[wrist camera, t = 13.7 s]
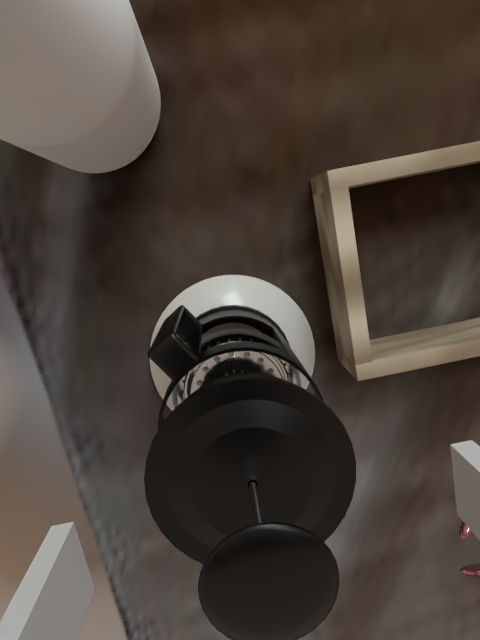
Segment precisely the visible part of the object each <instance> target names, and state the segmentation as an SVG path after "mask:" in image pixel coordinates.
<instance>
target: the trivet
mask: <svg viewBox="0 0 480 640" xmlns="http://www.w3.org/2000/svg"><path fill="white" fill-rule="evenodd" d="M181 305H183V306H185V307H186V308H187V309H188V310H189V311H190V312H191V313H192V315H193V316H194V317H195V318H196V317H197V316H199V315H200V314H202V313H204V312H206V311H208V310H210V309H212V308H216V307H220V306H226V305H240V306H247V307H250V308H253V309H256V310H259V311H260V312H262V313H264V314H266V315H267V316H269V317H270V318H271V319H272V320H273V321H275V322H276V323H277V324H278V326H279V327H280V328H281V330H282V331H283V332H284V334H285V336H286V338H287V340H288V342H289V344H290V348H291V349H292V350H293V352H294V353H295V355H296V356H297V358H298V359H299V361H300V362H301V364H302V365H303V367H304V368H305V370H306V371H307V373H308V374H309V375H310V377H312V374H313V369H314V363H315V346H314V339H313V335H312V331H311V328H310V326H309V323H308V321H307V319H306V317H305V315H304V313H303V312H302V310H301V309H300V308H299V306H298V305H297V304H296V303H295V302H294V301H293V300H292V299H291V298H290V297H289V296H288V295H287V294H286V293H285V292H283V291H282V290H281V289H279V288H278V287H276V286H274V285H273V284H271V283H269V282H266V281H264V280H262V279H259V278H255V277H251V276H245V275H221V276H215V277H211V278H208V279H205V280H202V281H200V282H197V283H195V284H193V285H192V286H190V287H188V288H187V289H185V290H184V291H183V292H181V293H180V294H179V295H177V296H176V297H175V298H174V299H173V300H172V301H171V302H170V304H169V305H168V306H167V308H166V309H165V310H164V311H163V313H162V315H161V317H160V318H159V320H158V322H157V324H156V327H155V329H154V332H153V335H152V339H151V344H150V347H151V345H152V343H153V341H154V339H155V337H156V335H157V334H158V332H159V330H160V328H161V326H162V324H163V322H164V320H165V319H166V318H167V317H168V316H169V315H171V314H172V313H173V312H174V311H175V310H176V309H177V308H178V307H179V306H181ZM230 329H245V330H253V331H256V332H259V333H261V332H260V331H259V330H257V329H256V328H254V327H252V326H249V325H246V324H242V323H225V324H221V325H217V326H215V327H213V328H211V329H209V330H208V331H206V332H205V333H204V334H202V339H203V338H205V337H207V336H209V335H211V334H213V333H217V332H220V331H224V330H230ZM262 334H263V333H262ZM150 368H151V374H152V377H153V381H154V384H155V386H156V388H157V390H158V392H159V394H160V396H161V397H162V399H164V396H165V393H166V390H167V388H168V386H169V385H170V383H171V381H172V380H171V379H170V378H169V377H168V376H167V375H166V374H165V373H164V372H163V371H162V370H161V369H160V368H159V367H158V366H157V365H156V364H155V363H154V362H153V361H152V360H151V359H150ZM299 375H300V379H301V387H302V388H304V389H307V387H308V385H309V383H310V382H309V381H308V380H307V378H306V377H305V376H304V375H303V374H302V373H301V372H300V371H299ZM166 405H167V406H168V407H169V408H170V409H171V410H172V411H173V410H174V405H173V399H172V393H171V395H170V396H169V398H168V400H167V403H166Z"/></svg>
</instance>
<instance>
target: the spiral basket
mask: <svg viewBox="0 0 480 640" xmlns="http://www.w3.org/2000/svg"><path fill="white" fill-rule="evenodd" d="M470 533H471V530H470V529H469V528H468V526H467V525H466V524H465V523H464V522H463V521H462V524H461V527H460V537H461V538H466V537H468V535H469V534H470ZM460 571H461V572H462V573H463V574H465V575H468V576H472V577H476V578H480V564H473V565H467V566H464V567H462V568H461V569H460Z"/></svg>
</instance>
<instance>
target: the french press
mask: <svg viewBox="0 0 480 640" xmlns="http://www.w3.org/2000/svg"><path fill="white" fill-rule="evenodd" d="M225 323H242V324H246V325H249V326H252V327H254V328H256V329H257V330H259V331H260V332H261V333H259V332H256V331H253V330H245V329H230V330H224V331H220V332H217V333H213V334H211V335H209V336H207V337H205V338H203V339H202V334H204V333H205V332H206V331H208V330H209V329H211V328H213V327H215V326H217V325H221V324H225ZM262 333H263V334H262ZM148 357H149V358H150V359H151V360H152V361H153V362H154V363H155V364H156V365H157V366H158V367H159V368H160V369H161V370H162V371H163V372H164V373H165V374H166V375H167V376H168V377H169V378H170V379H171V380H172V381H171V383H170V385H169V386H168V388H167V390H166V393H165V396H164V399H163V402H162V406H161V409H160V413H159V421H158V431H157V433H156V435H155V437H154V438H153V441H152V444H151V447H150V450H149V453H148V456H147V460H146V468H145V477H144V482H145V491H146V499H147V502H148V505H149V508H150V511H151V514H152V517H153V518H154V520H155V522H156V524H157V525H158V527H159V529H160V530H161V532H162V533H163V534H164V535H165V537H166V538H167V539H168V540H169V541H170V542H171V543H172V544H173V545H174V546H175V547H176V548H177V549H179V550H180V551H182V552H183V553H184V554H186V555H187V556H188V557H190V558H192V559H194V560H196V561H198V562H200V563H202V564H203V567H202V570H201V572H200V577H199V583H198V591H199V600H200V603H201V606H202V609H203V611H204V613H205V615H206V616H207V618H208V620H209V621H210V623H211V624H212V625H213V626H214V627H215V628H216V629H217V630H218V631H219V632H221V633H222V634H224V635H225V636H227V637H228V638H230V639H232V640H297V639H299V638H301V637H304V636H305V635H307V634H308V633H310V632H311V631H313V630H314V629H315V628H316V627H317V626H318V625H319V624H321V623H322V622H323V621H324V619H325V618H326V617H327V615H328V614H329V612H330V611H331V609H332V607H333V605H334V603H335V600H336V598H337V593H338V588H339V571H338V566H337V562H336V560H335V558H334V556H333V554H332V552H331V550H330V549H329V548H328V546H327V545H326V544H325V543H324V541H325V540H326V539H327V538H328V537H329V536H330V535H331V534H332V533H333V532H334V531H335V530H336V528H337V527H338V525H339V524H340V522H341V521H342V519H343V518H344V516H345V514H346V512H347V510H348V507H349V505H350V503H351V500H352V497H353V492H354V487H355V483H356V460H355V455H354V451H353V446H352V443H351V440H350V438H349V436H348V434H347V432H346V430H345V427H344V425H343V424H342V423H341V421H340V420H339V419H338V417H337V416H336V415H335V413H334V412H333V411H332V409H331V408H330V407H329V406H328V405H327V404H325V403H324V401H323V398H322V396H321V394H320V392H319V390H318V388H317V386H316V384H315V383H314V381H313V380H312V378H311V377H310V375H309V374H308V373H307V371H306V370H305V368H304V367H303V365H302V364H301V362H300V361H299V359H298V358H297V356H296V355H295V353H294V352H293V350H292V349H291V348H290V344H289V342H288V340H287V338H286V336H285V334H284V332H283V331H282V330H281V328H280V327H279V326H278V324H277V323H276V322H275V321H273V320H272V319H271V318H270V317H269V316H267V315H266V314H264V313H262V312H260V311H259V310H256V309H253V308H250V307H247V306H240V305H226V306H220V307H216V308H212V309H210V310H208V311H206V312H204V313H202V314H200V315H199V316H197V317H196V318H195V317H194V316H193V315H192V313H191V312H190V311H189V310H188V309H187V308H186V307H185V306H183V305H181V306H179V307H178V308H177V309H176V310H175V311H174V312H173V313H172V314H171V315H169V316H168V317H167V318H166V319H165V320H164V322H163V324H162V326H161V328H160V330H159V332H158V334H157V335H156V337H155V339H154V341H153V343H152V345H151V347H150V349H149V351H148ZM299 371H300V372H301V373H302V374H303V375H304V376H305V377H306V378H307V380H308V381H309V382H310V384H311V386H312V388H313V391H314V393H315V394H313V393H311V392H309V391H308V390H306V389H304V388H302V387H301V379H300V375H299ZM171 393H172V399H173V405H174V410H173V411H172V412H171V413H170V414H169V416H168V417H167V418H166V419H165V420H164V412H165V406H166V403H167V400H168V398H169V396H170V395H171Z"/></svg>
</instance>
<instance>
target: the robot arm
mask: <svg viewBox="0 0 480 640" xmlns="http://www.w3.org/2000/svg"><path fill="white" fill-rule="evenodd" d="M450 447H451V457H452V467H453V478H454V488H455V498H456V508H457V514H458V516H459V517H460V518H461V519H462V520H463V522H464V523H465V524H466V525H467V526H468V528H469V529H470V530H471V531H472V532H473V534H474V535H475V536H476V537H477V538H478V540H479V541H480V446H478V445H477V444H476V443H475V442H474V441H473V440H470V441H465V442H460V443H455V444H450ZM94 589H95V588H94V585H93V582H92V579H91V576H90V572H89V569H88V566H87V563H86V560H85V556H84V553H83V550H82V547H81V544H80V540H79V537H78V534H77V531H76V528H75V524H74V522H70V523H65V524H60V525H55V526H51V528H50V530H49V532H48V534H47V536H46V538H45V539H44V541H43V543H42V545H41V547H40V548H39V550H38V552H37V554H36V556H35V558H34V560H33V561H32V563H31V565H30V567H29V569H28V571H27V573H26V575H25V576H24V578H23V580H22V582H21V584H20V586H19V588H18V590H17V591H16V593H15V595H14V597H13V599H12V600H11V602H10V604H9V606H8V608H7V610H6V611H5V613H4V615H3V617H2V619H1V621H0V640H78V638H79V635H80V632H81V629H82V626H83V623H84V620H85V617H86V614H87V611H88V608H89V605H90V602H91V598H92V596H93V593H94Z"/></svg>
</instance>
